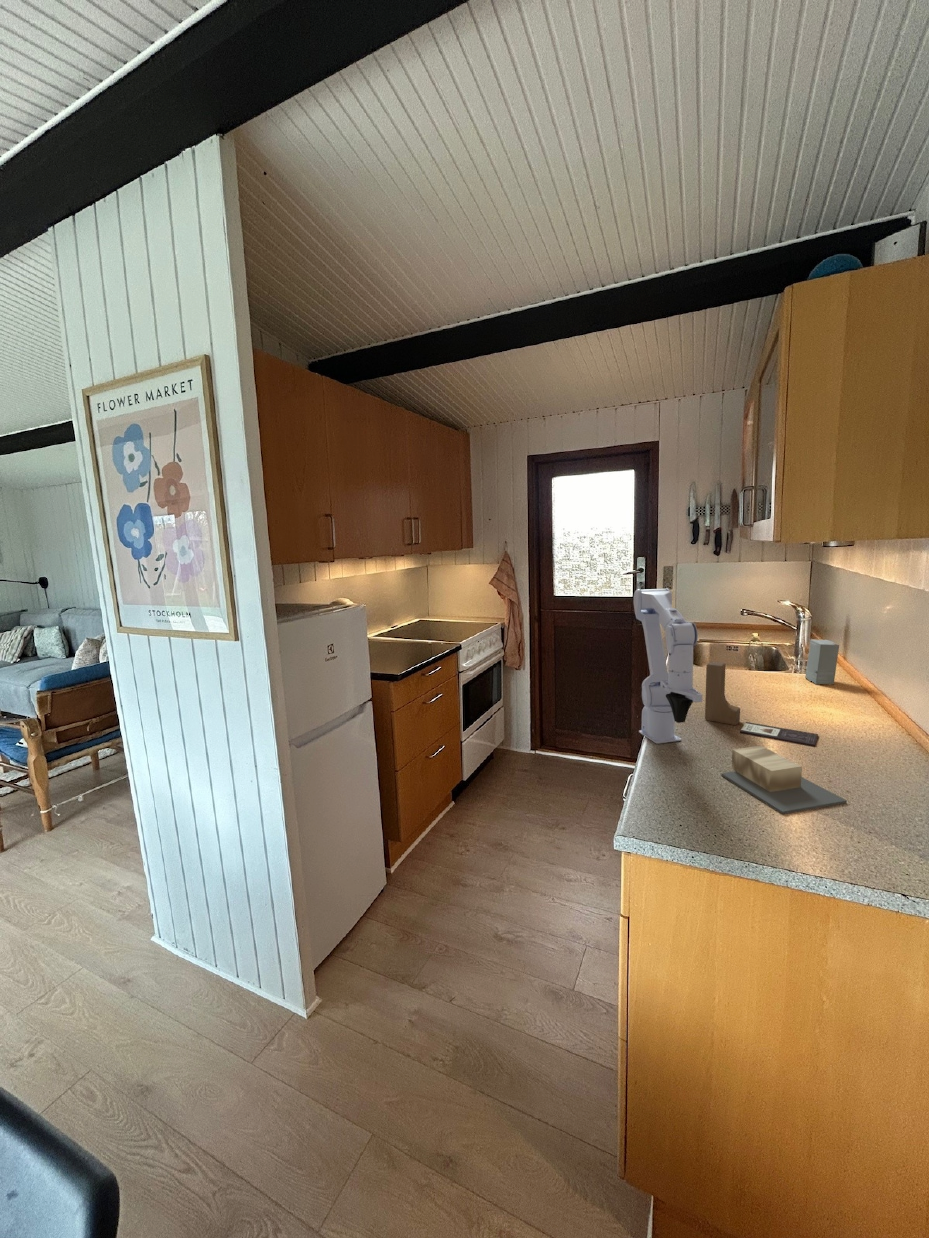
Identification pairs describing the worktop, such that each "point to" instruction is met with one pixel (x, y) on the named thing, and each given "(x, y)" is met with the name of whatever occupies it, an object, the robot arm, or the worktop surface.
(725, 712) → the wooden block
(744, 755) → the birch block
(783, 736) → the chocolate bar
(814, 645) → the skincare box
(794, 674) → the worktop surface
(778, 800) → the mat
